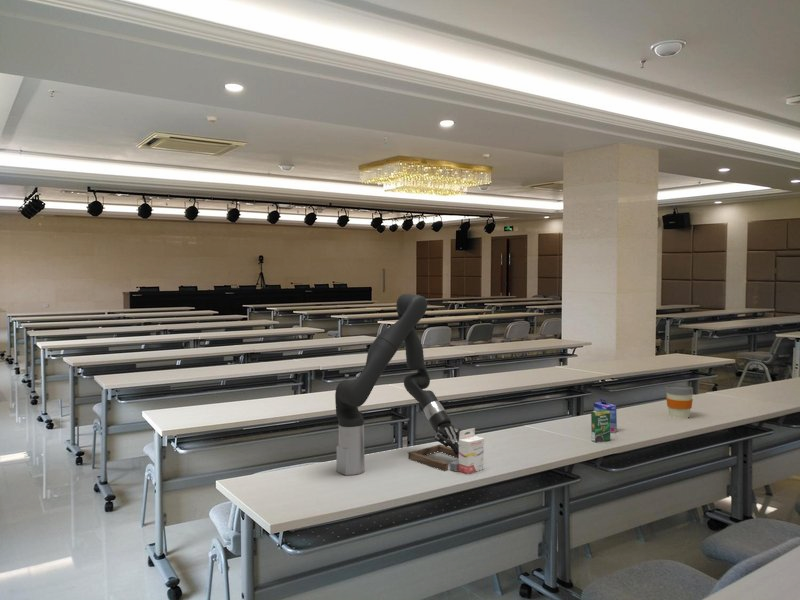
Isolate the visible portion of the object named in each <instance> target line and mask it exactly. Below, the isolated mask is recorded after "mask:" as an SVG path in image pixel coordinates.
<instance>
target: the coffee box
mask: <svg viewBox="0 0 800 600" xmlns="http://www.w3.org/2000/svg"><path fill="white" fill-rule="evenodd" d="M590 414H591V415H590V417H591V420H590V421H591V422H590V423H591V426H590V427H591V442H592V443H593V442H594V443H599V442H600V443H601V442H609V441H611V433H610V411H609V410H599V411H594V410H593V411H590Z"/></svg>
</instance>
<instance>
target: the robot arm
mask: <svg viewBox="0 0 800 600" xmlns="http://www.w3.org/2000/svg"><path fill="white" fill-rule="evenodd" d="M427 309H428V300H427V298H426V297H424V296H422V295H419V294H411V293H403V294H401V295H400V296H398V298H397V300H396V313H397V317H398V320H397V321H396V322H395V323H393V324H391V325H390V326H388V327H387V328H385V329H384V330H383V331H382V332H380V333H379V334H378V335H377V336H376V338H375V339H374V340H373V342H372V343H371V345H370V347H369V348H368V351H367V356H366V362H365V366H364V368H363V370H362V371H361V373H360V374H359V376H357V378H356V379H355V380H352V379H343V380H341V381H340V382H338V384H337V386H336V388H335V393H334V397H335V398H334V399H335V400H334V401H335V402H334V403H335V413H336V414H335V415H336V418H337V420H338V421H337V422H338V444H337V445H336V472H337V473H339V474H342V475H343V476H353V475H359V474H362V473H364V472H365V417H364V416H363V414H362V413H361V412H360V410H359V408H360V407H361V406H362V405H364V403H366V401H367V400H368V399H369V397H370V395H371V393H372V391H373V389H374V386H375V385H376V383H377V381H378V380H379V379H380V377H381V376H382V374H383V372H384V371H385V369H386V368H387V366H388V364H389V363H390V361H391V360H392V359H393V357H395V355H396V353H397V352H398V350H399V348H400V346H401V345H402V344H403V343H404V348H405V360H406V366H407V368H408V369H409V370H416V371H417V372H415V373H412V374H408V375H406V376H405V377H404V379H403V386H404V389H405V390H406V392H407V393H408V394H409V395H410V396H412V398H413V399H415V401H417V402H418V404H419V405H420V407H421V409H422V411H423V412H424V415H425V417H426V418H427V421H428V422H429V424H430V425H431V427H432V429H433V430H434V431H435V433H436V435H435V436H434V440H435V441H437V442H438V443H440V445H444V446H446V447H450V448H452V450H453V452H454V453H455V454H456V455H459V433H460V431H462V429H461V428H458V429H457V428H455V426H454V425H453V424H452V420H451V417H450V416H449V415H448V413H447V411H446V410H445V408H444V406H443V405H442V403H441V402H440V401H439V399H438V397H437V395H436V394H435V393H434V392H433V390H425V389H427V388H429V386H430V383H431V378H430V375H429V373H428V370H427V367H426V364H425V357H424V355H425V354H424V348H423V344H422V342H421V339H420V336H419V335H418V333H417V332H416V329H415V327H416V325H417V324H418V323H419V322H420V321H421V320H422V319H423V317H424V315H425V314H426V312H427Z"/></svg>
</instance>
